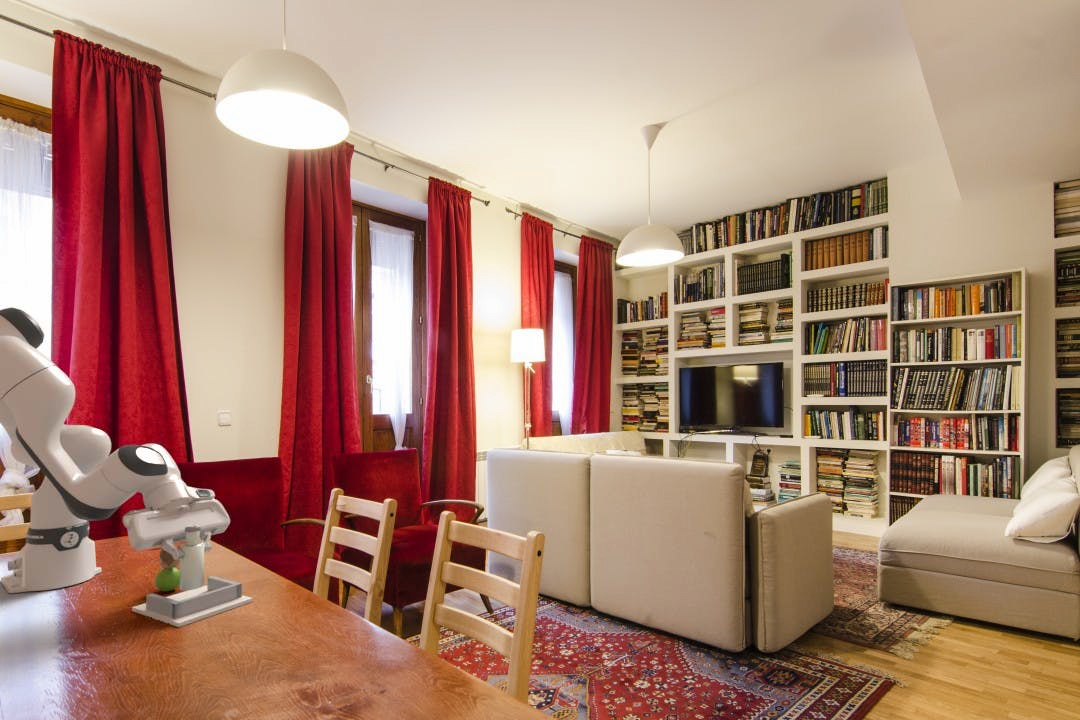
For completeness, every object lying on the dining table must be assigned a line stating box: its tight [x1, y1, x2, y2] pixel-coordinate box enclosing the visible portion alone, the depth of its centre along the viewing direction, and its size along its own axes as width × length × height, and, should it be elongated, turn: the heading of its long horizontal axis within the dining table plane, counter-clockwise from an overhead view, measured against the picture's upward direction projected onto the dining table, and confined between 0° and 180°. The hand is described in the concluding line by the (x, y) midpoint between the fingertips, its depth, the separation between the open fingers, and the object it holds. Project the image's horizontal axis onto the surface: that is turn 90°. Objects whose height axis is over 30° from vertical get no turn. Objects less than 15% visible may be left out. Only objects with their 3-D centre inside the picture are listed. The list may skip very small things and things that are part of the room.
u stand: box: [131, 575, 254, 628], centre depth 129 cm, size 18×16×4 cm
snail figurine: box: [154, 541, 185, 593], centre depth 139 cm, size 5×6×12 cm
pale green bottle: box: [178, 525, 205, 591], centre depth 129 cm, size 5×5×13 cm
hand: (193, 554), depth 129 cm, fingers closed on pale green bottle, 5 cm apart
